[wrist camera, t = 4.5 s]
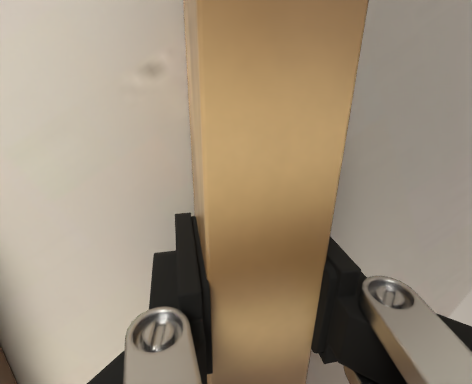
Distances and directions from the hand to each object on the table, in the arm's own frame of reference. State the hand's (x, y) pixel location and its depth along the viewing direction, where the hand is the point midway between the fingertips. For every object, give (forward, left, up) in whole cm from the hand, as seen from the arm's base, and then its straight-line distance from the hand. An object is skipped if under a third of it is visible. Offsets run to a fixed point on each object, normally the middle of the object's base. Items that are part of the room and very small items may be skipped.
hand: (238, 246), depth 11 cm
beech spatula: (+3, 0, -1) cm, 3 cm away
